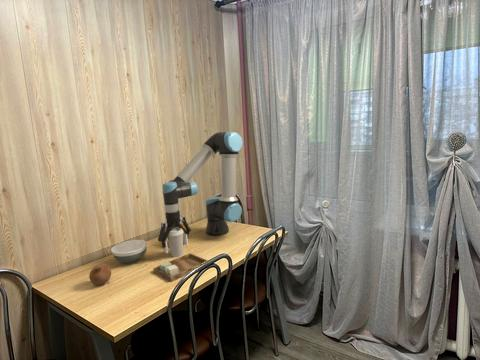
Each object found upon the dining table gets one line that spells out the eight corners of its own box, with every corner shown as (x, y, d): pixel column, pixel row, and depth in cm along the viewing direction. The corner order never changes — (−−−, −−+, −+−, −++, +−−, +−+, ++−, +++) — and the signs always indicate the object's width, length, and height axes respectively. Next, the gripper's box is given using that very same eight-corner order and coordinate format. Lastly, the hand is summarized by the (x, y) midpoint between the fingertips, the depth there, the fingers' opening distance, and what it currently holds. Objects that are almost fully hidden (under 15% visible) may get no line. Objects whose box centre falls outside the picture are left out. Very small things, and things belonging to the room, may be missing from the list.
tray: (190, 257, 168) (189, 253, 168) (209, 265, 157) (208, 260, 156) (153, 272, 153) (153, 268, 153) (171, 283, 142) (171, 278, 141)
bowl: (107, 261, 170) (105, 247, 168) (138, 250, 183) (137, 237, 181) (122, 271, 157) (120, 256, 155) (155, 258, 170) (153, 244, 168)
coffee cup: (182, 259, 166) (179, 232, 163) (165, 259, 168) (162, 232, 165) (188, 252, 175) (185, 226, 173) (172, 251, 177) (169, 226, 175)
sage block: (166, 269, 155) (165, 261, 154) (172, 270, 153) (171, 263, 152) (160, 272, 152) (159, 264, 151) (166, 274, 149) (165, 266, 149)
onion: (101, 293, 143) (95, 280, 137) (88, 284, 147) (81, 271, 141) (118, 277, 150) (112, 264, 144) (104, 269, 154) (98, 256, 148)
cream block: (175, 272, 151) (174, 264, 150) (178, 275, 147) (178, 267, 147) (167, 275, 148) (166, 267, 148) (171, 278, 145) (170, 270, 144)
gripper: (186, 204, 178) (190, 240, 182) (148, 215, 161) (153, 254, 165) (194, 206, 173) (198, 243, 177) (155, 218, 156) (160, 258, 160)
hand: (176, 248), depth 171 cm, fingers open, 12 cm apart
